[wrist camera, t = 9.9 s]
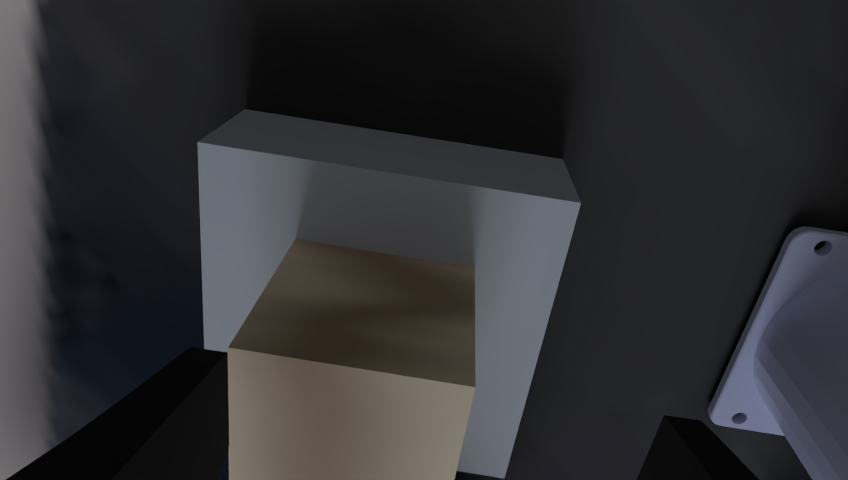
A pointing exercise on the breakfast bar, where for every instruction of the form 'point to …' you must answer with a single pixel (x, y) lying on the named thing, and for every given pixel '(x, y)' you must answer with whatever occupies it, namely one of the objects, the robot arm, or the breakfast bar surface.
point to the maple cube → (353, 369)
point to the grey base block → (393, 236)
